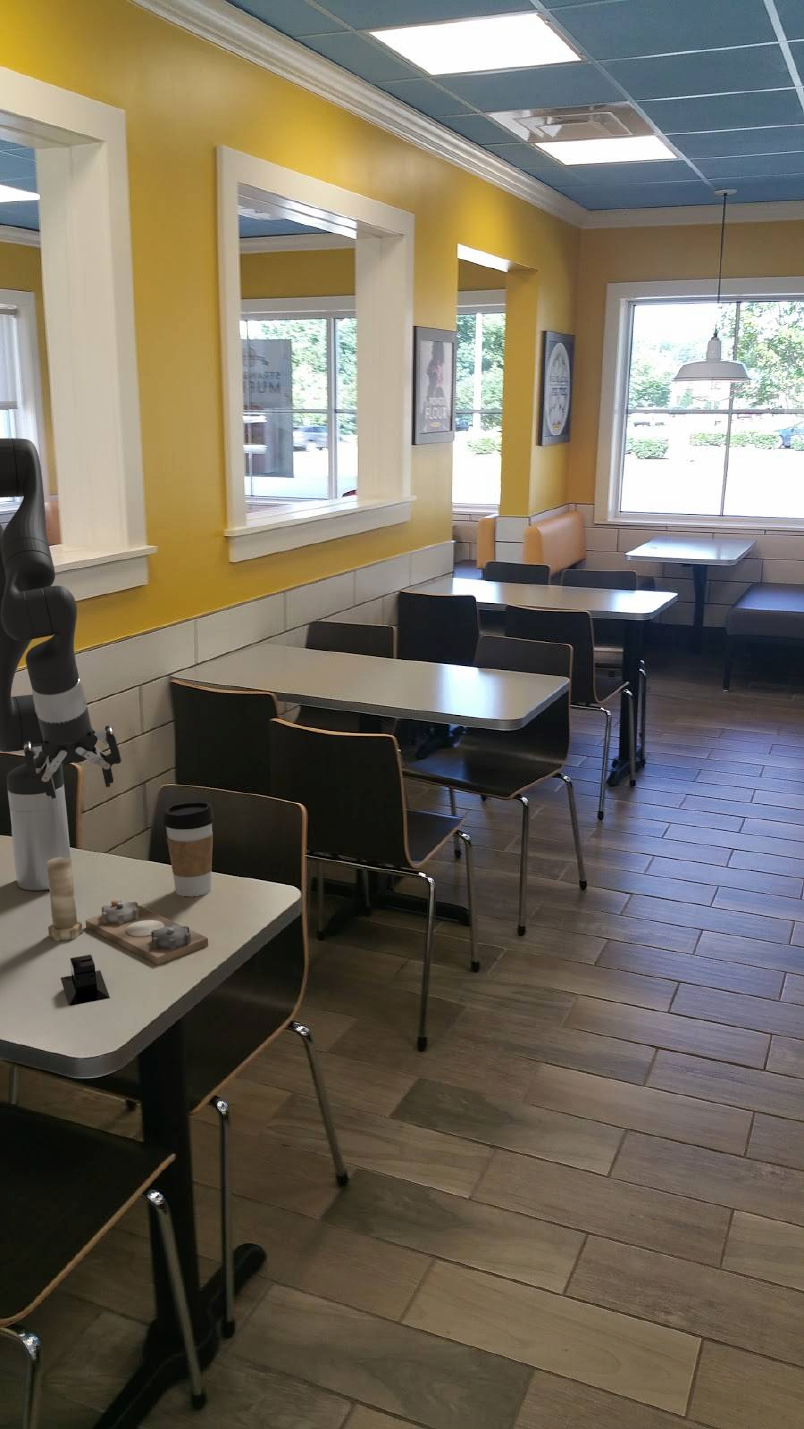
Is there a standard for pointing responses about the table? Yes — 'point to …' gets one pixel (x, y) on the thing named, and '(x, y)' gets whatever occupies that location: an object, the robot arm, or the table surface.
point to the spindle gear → (62, 900)
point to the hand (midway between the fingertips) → (80, 789)
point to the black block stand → (84, 982)
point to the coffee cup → (190, 846)
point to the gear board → (145, 932)
